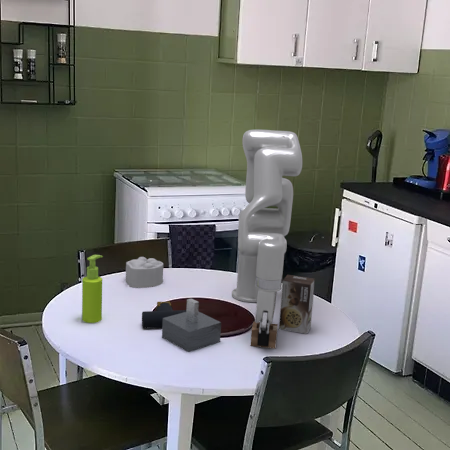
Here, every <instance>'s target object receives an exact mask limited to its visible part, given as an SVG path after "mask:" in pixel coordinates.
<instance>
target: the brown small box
mask: <svg viewBox="0 0 450 450" xmlns="http://www.w3.org/2000/svg"><path fill="white" fill-rule="evenodd" d="M278 325H279V323H272V324H270V325H269V333H270V334H269V345H268V347H267V346H258V345H257V342H258V332H259V327H260V322H259V323H256V322H255V320H254V321H253V323H252V327H251V332H250V343H249V344H250V347H254V348H255V347H256V348H257V347H258V348H265V349H274V350H275V349H276V346H277V337H278V328H279V326H278ZM266 327H267V325H266Z"/></svg>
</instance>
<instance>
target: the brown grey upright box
mask: <svg viewBox="0 0 450 450" xmlns="http://www.w3.org/2000/svg"><path fill="white" fill-rule="evenodd" d="M315 281H316V279H315V278H312V277H305V276H300V275H292V274H287V275H286V276H285V277H283V278H282V285H281V295H280V297H281V298H280V310H279V311H280V312H279V321H278V322H279V323H278V325H279V326H278V330H281V331H282V330H283V331H288V332H293V333H300V334H306V335H307V334H308V333H309V331H310V329H311V328H312V318H313V317H312V314H313V306H314V304H313V303H314V291H315Z"/></svg>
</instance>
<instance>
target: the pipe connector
mask: <svg viewBox="0 0 450 450" xmlns="http://www.w3.org/2000/svg"><path fill="white" fill-rule="evenodd" d="M186 310H187V309H184V310H183V309H182V310H181V309H179V310H174V308H173V306H172V304H171V301H170V300H169V301H168V300H166V301H157V302H156V306H155V310H152V311H150V310H149V311H148V310H146V311H142V313H141V325H142V329H157V328H158V329H162V324H163V318H165V317H169V316H173V315H176V314H180V313H183V312H186Z"/></svg>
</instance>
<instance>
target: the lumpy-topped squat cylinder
mask: <svg viewBox="0 0 450 450" xmlns="http://www.w3.org/2000/svg"><path fill="white" fill-rule="evenodd" d="M163 282H164V262H162V261H160V260H157V259H156V258H152V257H151V258H150V257H149V258H148V259H147V258H146V256H145V257H144V256H139V257H138V258H136V259H131V260H129V261H126V262H125V283H126V284H127V285H128V286H129V287H130V288H132V289H148V288H154V287H155V288H156V287H157V286H158V287H159V286H160V285H162V284H163Z"/></svg>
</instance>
